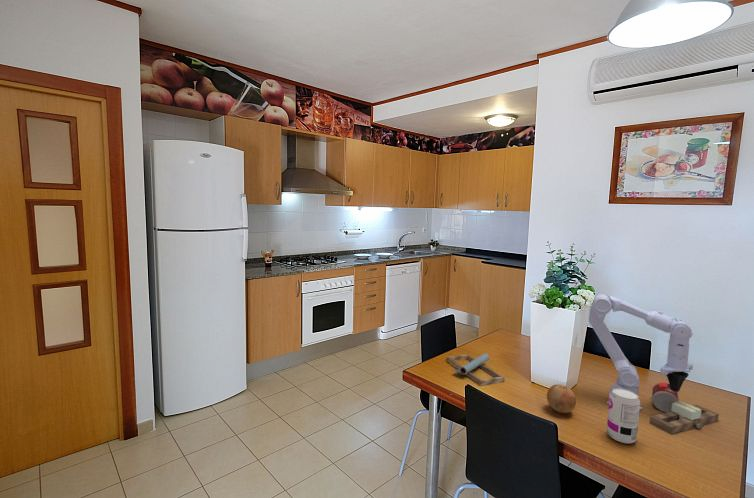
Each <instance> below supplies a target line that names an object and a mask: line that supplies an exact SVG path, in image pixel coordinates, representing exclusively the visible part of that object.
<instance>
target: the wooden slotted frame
mask: <svg viewBox="0 0 754 498" xmlns="http://www.w3.org/2000/svg"><path fill="white" fill-rule="evenodd" d="M692 406H694V407H696V408H699V409H701V418H698V419H695V420H690V419H688V418H683V419H679V414H677V413H675V412H672V411H671V410H670V411H669V412H663V413H659V414H654V415H650V416H649V417H650V418H649V424H650V425H653V426H655V427H656V428H658V429H660V430H662V431H664V432H666V433H668V434H670V435H675V434H678V433H681V432H685V431H688V430H691V429H698V430H701V429H702V428H703V426H705V425H708V424H712V423H715V422H718V421H719V416H720V414H719V413H717V412H714V411H712V410H709V409H708V408H705V407H702V406H700V405H698V404H693V405H692Z"/></svg>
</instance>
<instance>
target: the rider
mask: <svg viewBox="0 0 754 498" xmlns="http://www.w3.org/2000/svg"><path fill="white" fill-rule="evenodd" d="M671 411H672V412H675V413H677V414H679V419H683V418H688V419H690V420H695V419H698V418H701V409H699V408H696V407H694V406H693V405H691V404H689V403H687V402H684V401H682V400H679V402H678V401H676V402H675V403H672V409H671Z"/></svg>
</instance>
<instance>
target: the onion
mask: <svg viewBox="0 0 754 498" xmlns="http://www.w3.org/2000/svg"><path fill="white" fill-rule="evenodd" d="M576 399H577V398H576V395H575V393H574V391H573V390H572V389H571V388H570V387H568V386H567V385H565V384H561V383H560V384H559V383H558V384H553V385H551V386H550V387H549V388H548V390H547V392H546V400H547V403H548V405H549V406H550V407H551V408H552V409H553V410H554V411H555V412H558V413H561V414H568V413H571V412H572V411H573V410H575V408H576V404H577V400H576Z"/></svg>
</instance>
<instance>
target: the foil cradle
mask: <svg viewBox="0 0 754 498" xmlns="http://www.w3.org/2000/svg"><path fill="white" fill-rule="evenodd" d="M462 359H464V360H467V359H468V360H467V361H469V360H470V361H473V360H474V359H475V358H474V357H472V356H470V355H469V354H460V355H454V356H446V359H445V361H446V362H447V363H448V362H449V363H450V364H449V363H448V364H449V365H451V366H452V365H453V366H452V367H453V368H454V369H456V368H457V369H459V368H461V367H462V366H463V365H460V364H459V363H458V362H457V361H462ZM455 360H457V361H455ZM470 361H469V362H470ZM479 367H480V369H481V368H482V369H483V370H482V369H481V370H482V371H483V372H485V371H486V373H487V374H488V373H489V375H490V376H492V378H491V377H490V378H486V379H485V378H484V379H481V378H480V377H478V376H477V375H475V374H474V373H473V372H471V371H470V372H468V373H467V374H465V376H466V377H467V376H468V379H470V378H471V379H470V380H472V381H473V382H474V383H476V384H477V385H478V386H480V387H482V386H487V385H488V386H490V385H494V384H500V383H505V379H506V378H505V377H504V375H501V374H500V373H499V372H496V370H493V369H492V368H490V367H489V366H487V365H485V364H484V363H483V364H481V365H479ZM479 367H478V368H479ZM457 369H456V370H457Z"/></svg>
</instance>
